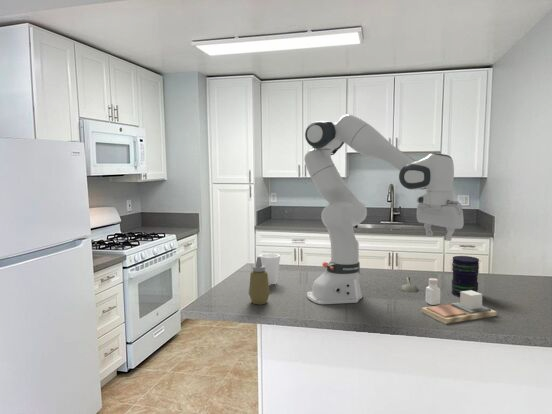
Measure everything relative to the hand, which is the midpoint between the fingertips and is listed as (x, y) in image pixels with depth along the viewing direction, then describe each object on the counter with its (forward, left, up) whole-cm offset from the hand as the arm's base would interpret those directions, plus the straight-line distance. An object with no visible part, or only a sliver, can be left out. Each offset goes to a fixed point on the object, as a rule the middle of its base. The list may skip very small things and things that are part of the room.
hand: (438, 238), depth 142 cm
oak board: (+5, -5, -27) cm, 28 cm away
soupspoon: (+12, +31, -27) cm, 43 cm away
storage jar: (+24, +12, -27) cm, 38 cm away
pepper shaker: (+4, +7, -27) cm, 28 cm away
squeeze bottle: (-58, +31, -27) cm, 71 cm away
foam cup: (-46, +55, -27) cm, 77 cm away
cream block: (+11, -5, -25) cm, 27 cm away
